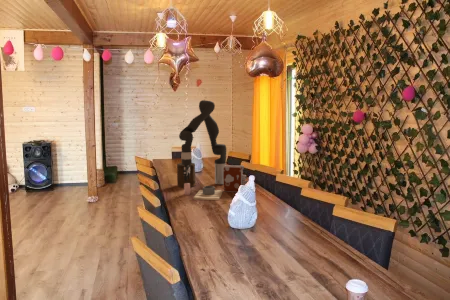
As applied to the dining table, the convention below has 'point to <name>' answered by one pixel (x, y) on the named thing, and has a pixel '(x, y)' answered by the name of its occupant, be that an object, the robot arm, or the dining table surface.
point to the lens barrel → (208, 190)
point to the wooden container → (180, 173)
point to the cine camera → (233, 177)
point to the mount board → (208, 197)
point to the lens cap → (187, 189)
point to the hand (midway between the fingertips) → (186, 179)
